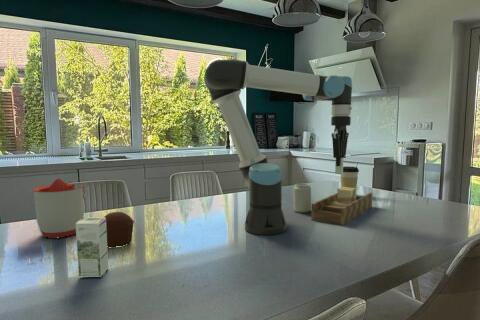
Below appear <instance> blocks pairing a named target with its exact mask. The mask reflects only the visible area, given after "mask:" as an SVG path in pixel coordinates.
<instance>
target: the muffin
mask: <svg viewBox="0 0 480 320" xmlns="http://www.w3.org/2000/svg"><path fill="white" fill-rule="evenodd" d="M103 217H105V218H106V230H107V246H108V247H116V246H123V245H126V244H128V245H129V243H130V242H131V243H132V239H133V231H134V224H135V221H134V220H133V218H132V217H131V216H130V215H128V214H127V213H125V212H122V211H114V212H110V213H107V214H105V216H103ZM131 243H130V244H131ZM123 247H124V246H123Z"/></svg>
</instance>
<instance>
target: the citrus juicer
mask: <svg viewBox="0 0 480 320" xmlns="http://www.w3.org/2000/svg"><path fill="white" fill-rule="evenodd" d="M32 190H33V193H34V196H33V197H34V206H35V207H34V209H35V218H36V221H37V225H38V228H39V231H40V233H41V235H42V236H43V237H44V238H46V237H48V239H55V238H57V237H61V238H66V237H65V236H67V237H70V236H69V235H71V236H74V235H76V223H77V222H78V221H79V220H81V219H83V218H84V215H85V214H84V213H85V212H84V211H85V210H84V209H85V207H84V198H87V197H88V195H87V194H86V193H84V185H83V184H82V185H80V186H78V187H76V188H75V183H72V182H71V183H67V182H65V181H64V180H62V179H60V178H56V179H55V180H54V181H53V182H52V184H48V185H41V186H38V187H34V188H33V189H32ZM73 234H74V235H73Z"/></svg>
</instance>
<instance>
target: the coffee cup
mask: <svg viewBox="0 0 480 320" xmlns="http://www.w3.org/2000/svg"><path fill="white" fill-rule="evenodd" d="M359 172H360V170H359V168H358V167H357V166H343V174H340V185H341V187H348V188H356V189H357V185H358V178H359V177H358V175H359Z"/></svg>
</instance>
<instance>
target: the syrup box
mask: <svg viewBox="0 0 480 320" xmlns="http://www.w3.org/2000/svg"><path fill="white" fill-rule="evenodd" d="M75 235H76V236H75V237H76V252H77V253H76V254H77V266H78V277H79V276H102V275H103V274H104V273H105V271H106V270H107V269H108V268H109V267H110V266H109V257H108V256H109V255H108V248H107V230H106V218H105V217H104V216H103V217H100V216H98V217H83V219H81V220H79V221H78V222H77V223H76V234H75ZM108 270H109V269H108ZM105 274H106V273H105ZM105 274H104V275H105ZM104 275H103V276H104Z"/></svg>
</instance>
